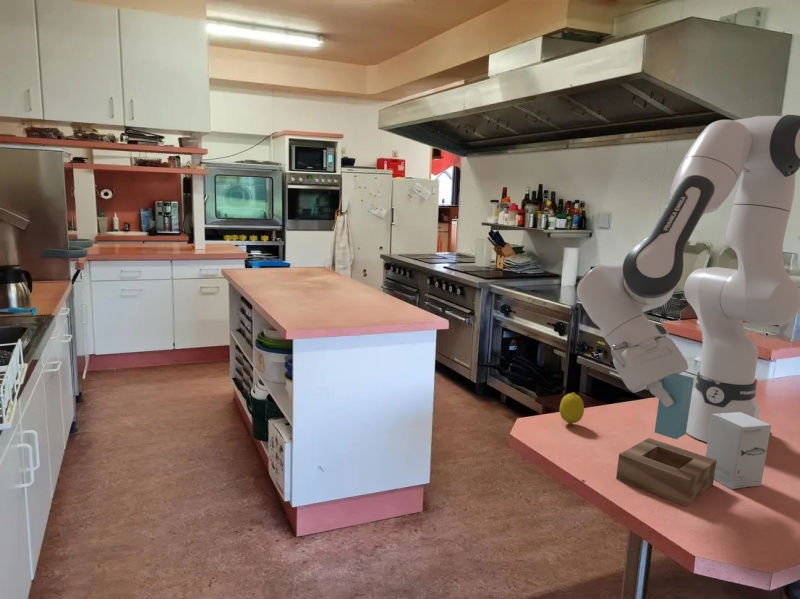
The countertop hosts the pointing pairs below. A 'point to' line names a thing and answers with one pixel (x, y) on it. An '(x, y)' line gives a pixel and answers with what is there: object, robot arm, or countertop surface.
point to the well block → (666, 471)
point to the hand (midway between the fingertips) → (678, 401)
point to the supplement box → (738, 448)
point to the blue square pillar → (675, 406)
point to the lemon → (571, 408)
